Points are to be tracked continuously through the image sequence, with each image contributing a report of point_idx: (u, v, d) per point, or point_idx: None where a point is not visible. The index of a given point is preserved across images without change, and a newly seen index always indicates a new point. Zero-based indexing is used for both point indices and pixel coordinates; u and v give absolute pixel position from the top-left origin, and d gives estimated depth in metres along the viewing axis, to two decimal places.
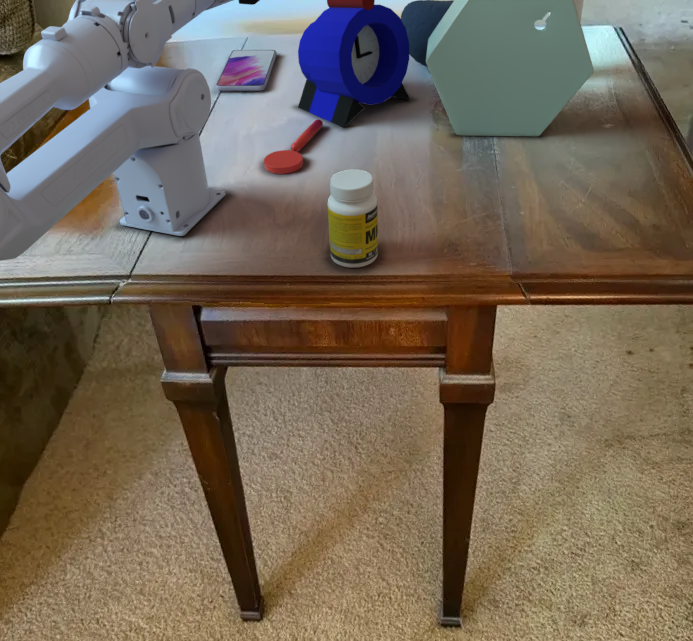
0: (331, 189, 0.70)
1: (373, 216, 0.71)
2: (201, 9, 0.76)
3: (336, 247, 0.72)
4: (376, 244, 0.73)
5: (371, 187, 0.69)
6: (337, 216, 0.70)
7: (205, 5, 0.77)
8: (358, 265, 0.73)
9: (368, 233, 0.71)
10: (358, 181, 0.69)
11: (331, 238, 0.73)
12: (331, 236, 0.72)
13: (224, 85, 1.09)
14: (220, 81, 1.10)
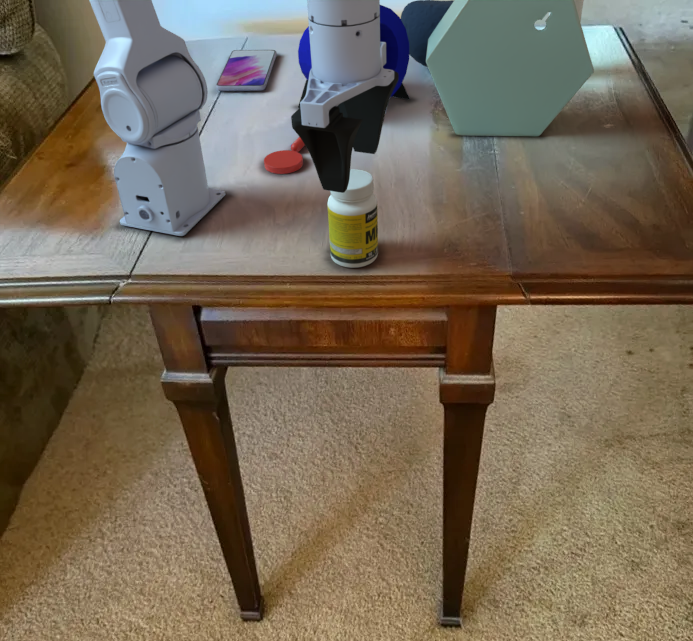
0: None
1: (373, 216, 0.71)
2: (315, 41, 0.60)
3: (336, 247, 0.72)
4: (376, 244, 0.73)
5: (371, 187, 0.69)
6: (337, 216, 0.70)
7: (316, 50, 0.61)
8: (358, 265, 0.73)
9: (368, 233, 0.71)
10: (358, 181, 0.69)
11: (331, 238, 0.73)
12: (331, 236, 0.72)
13: (224, 85, 1.09)
14: (220, 81, 1.10)
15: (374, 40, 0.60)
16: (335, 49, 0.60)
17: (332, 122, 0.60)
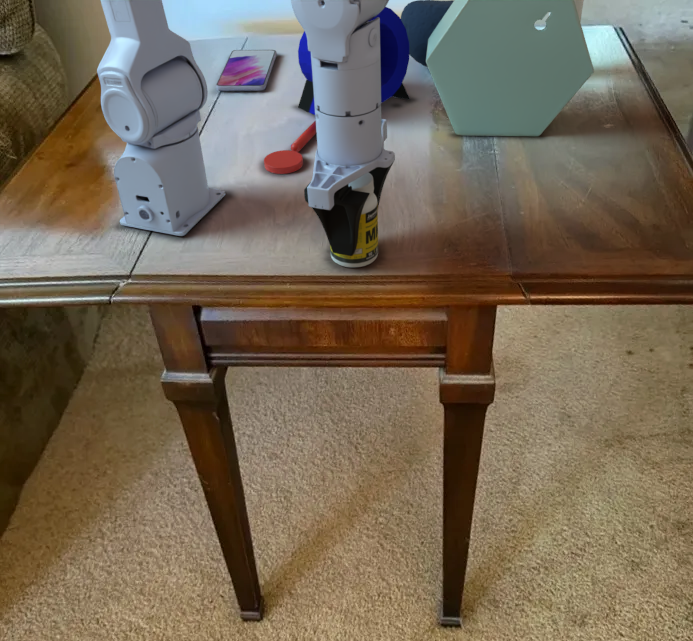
0: None
1: (373, 216, 0.71)
2: (320, 127, 0.65)
3: None
4: (376, 244, 0.73)
5: (371, 187, 0.69)
6: None
7: (322, 136, 0.65)
8: (358, 265, 0.73)
9: (368, 233, 0.71)
10: (358, 181, 0.69)
11: None
12: None
13: (224, 85, 1.09)
14: (220, 81, 1.10)
15: (376, 127, 0.65)
16: (339, 136, 0.64)
17: (342, 196, 0.66)
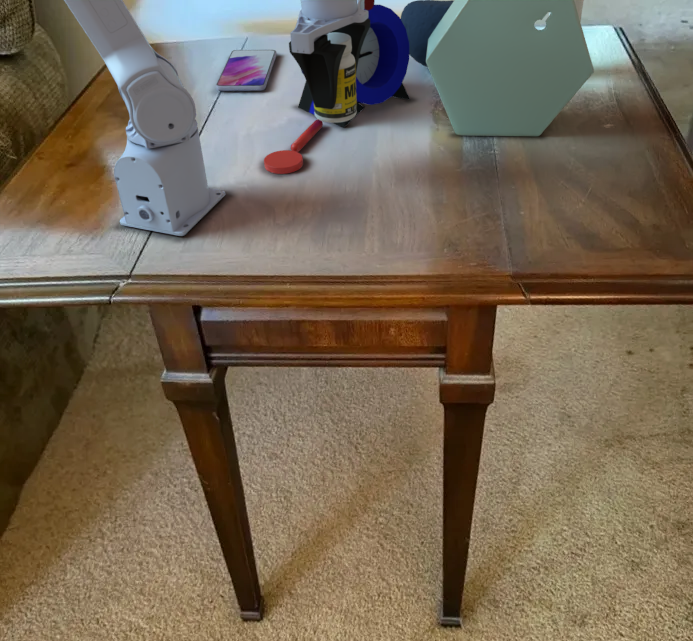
0: None
1: (351, 72, 0.80)
2: None
3: None
4: (354, 102, 0.83)
5: (349, 45, 0.79)
6: None
7: None
8: (338, 120, 0.82)
9: (347, 89, 0.81)
10: (337, 39, 0.79)
11: None
12: None
13: (224, 85, 1.09)
14: (220, 81, 1.10)
15: None
16: None
17: (321, 46, 0.75)
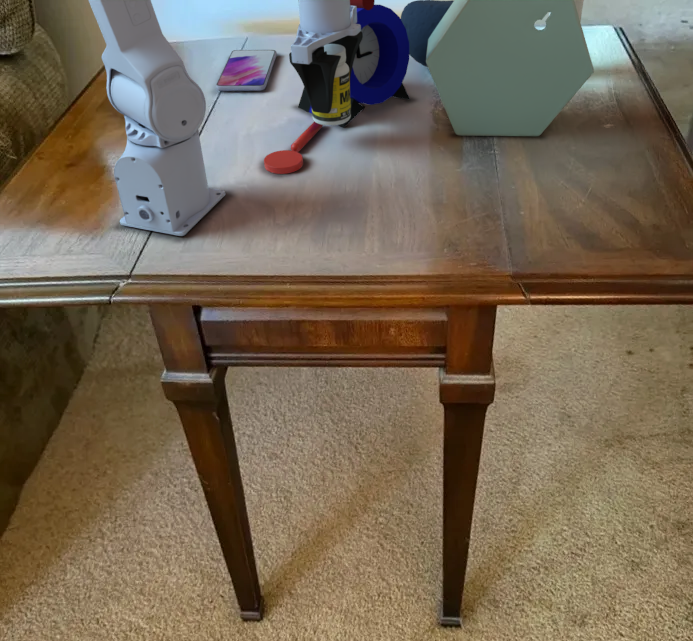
0: None
1: (346, 80, 0.88)
2: (301, 1, 0.83)
3: None
4: (349, 106, 0.91)
5: (344, 55, 0.87)
6: None
7: (303, 8, 0.83)
8: (334, 123, 0.91)
9: (342, 95, 0.89)
10: (333, 50, 0.87)
11: None
12: None
13: (224, 85, 1.09)
14: (220, 81, 1.10)
15: (345, 1, 0.83)
16: (316, 7, 0.82)
17: (318, 57, 0.84)
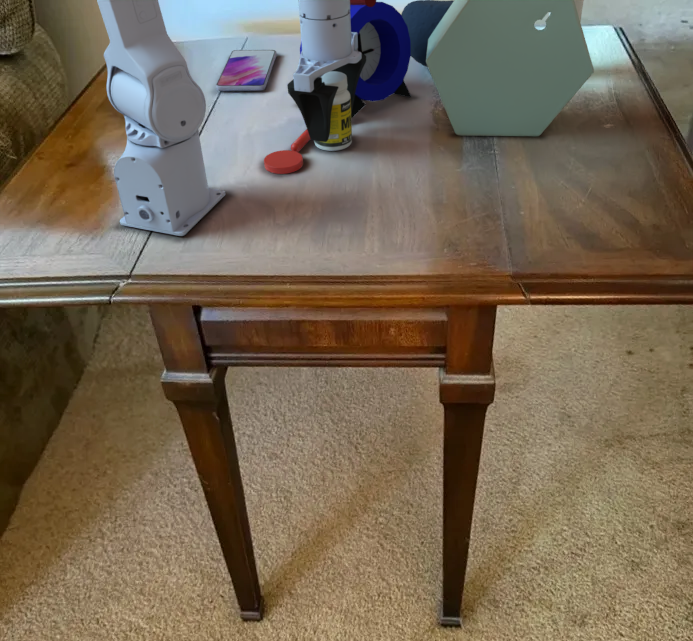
0: None
1: (347, 107, 0.91)
2: (304, 30, 0.85)
3: None
4: (350, 132, 0.93)
5: (345, 83, 0.89)
6: None
7: (305, 37, 0.85)
8: (336, 148, 0.93)
9: (343, 121, 0.91)
10: (335, 78, 0.89)
11: None
12: None
13: (224, 85, 1.09)
14: (220, 81, 1.10)
15: (346, 30, 0.85)
16: (318, 36, 0.84)
17: (316, 88, 0.85)
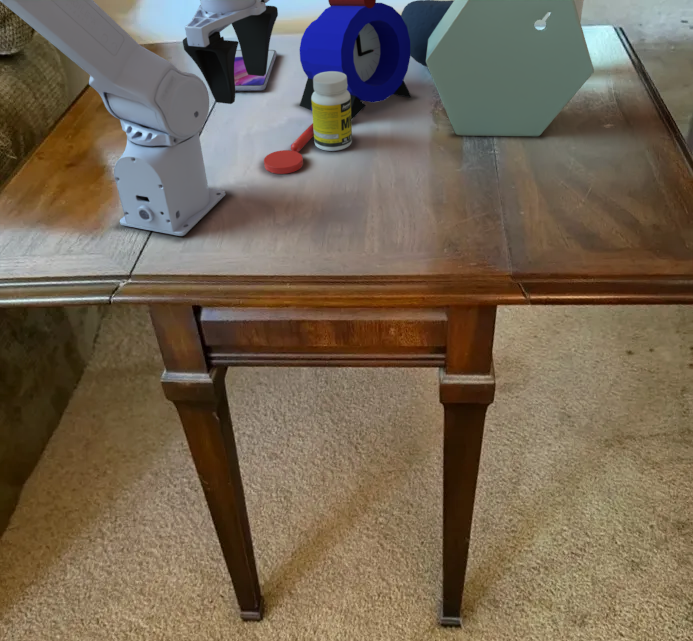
0: (314, 85, 0.89)
1: (347, 107, 0.91)
2: None
3: (318, 133, 0.92)
4: (350, 132, 0.93)
5: (345, 83, 0.89)
6: (318, 107, 0.90)
7: None
8: (336, 148, 0.93)
9: (343, 121, 0.91)
10: (335, 78, 0.89)
11: (314, 127, 0.92)
12: (314, 125, 0.92)
13: None
14: None
15: None
16: None
17: (213, 43, 0.77)
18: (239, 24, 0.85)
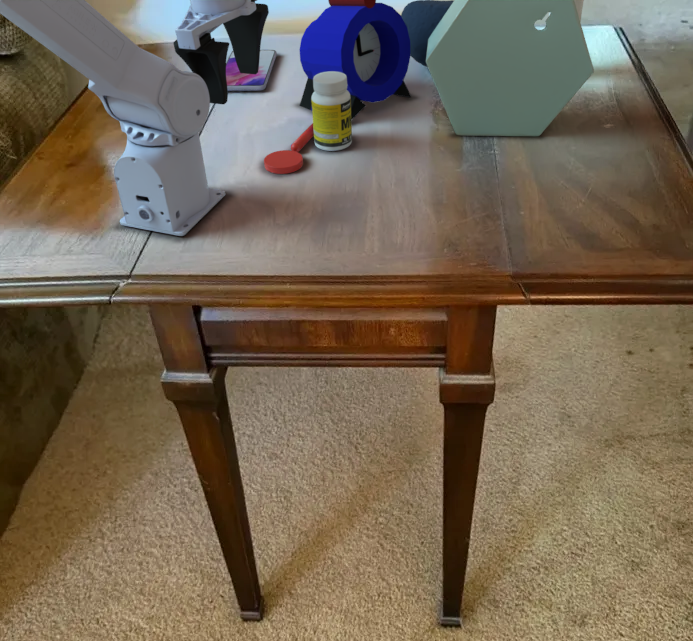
0: (314, 85, 0.89)
1: (347, 107, 0.91)
2: None
3: (318, 133, 0.92)
4: (350, 132, 0.93)
5: (345, 83, 0.89)
6: (318, 107, 0.90)
7: None
8: (336, 148, 0.93)
9: (343, 121, 0.91)
10: (335, 78, 0.89)
11: (314, 127, 0.92)
12: (314, 125, 0.92)
13: None
14: None
15: None
16: None
17: (204, 45, 0.77)
18: (230, 23, 0.85)
